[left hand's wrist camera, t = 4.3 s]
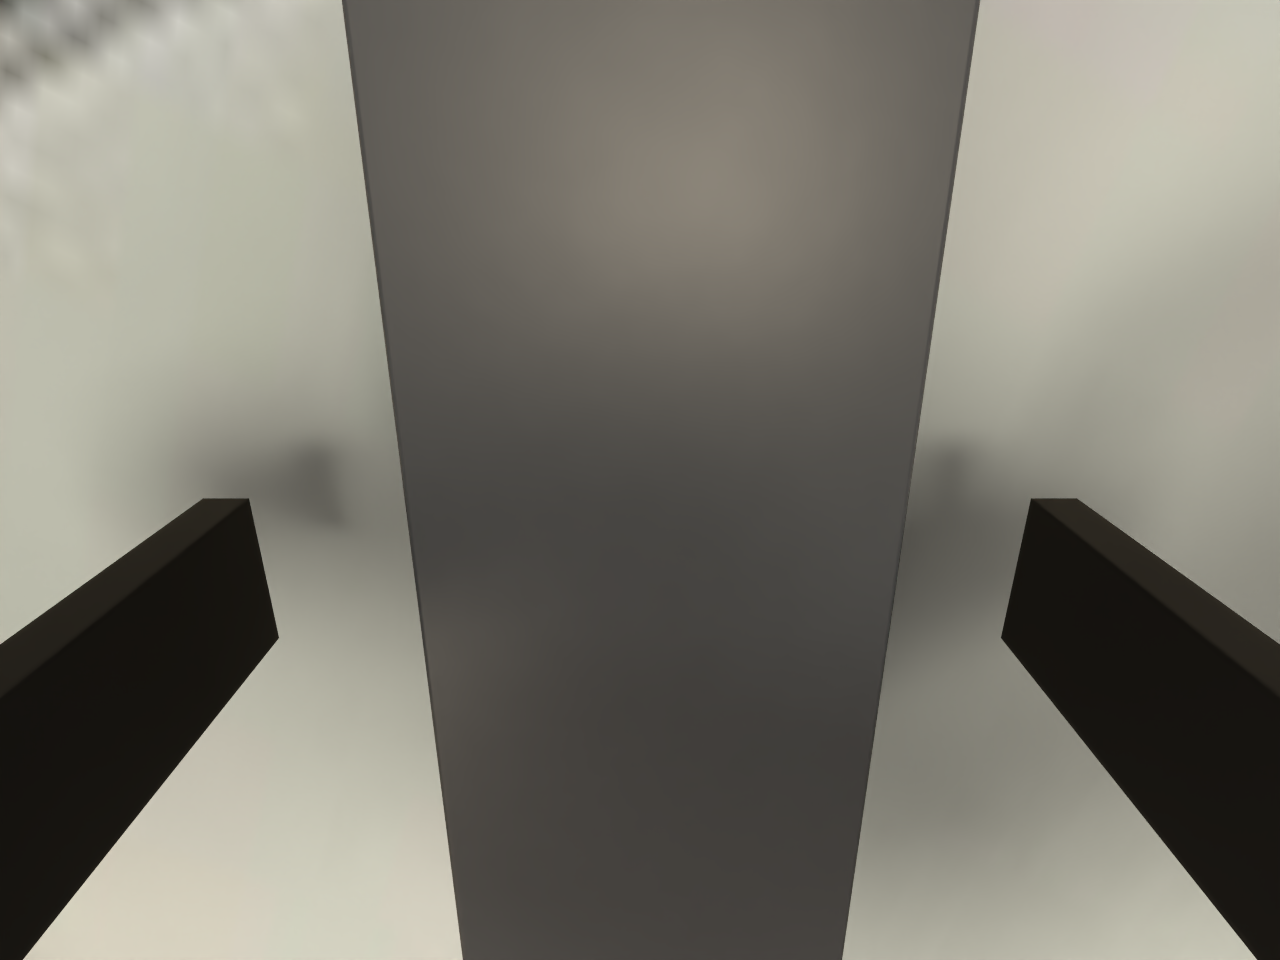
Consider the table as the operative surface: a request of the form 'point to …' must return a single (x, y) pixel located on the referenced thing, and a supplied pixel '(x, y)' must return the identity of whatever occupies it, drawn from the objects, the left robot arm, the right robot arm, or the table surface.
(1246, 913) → the left robot arm
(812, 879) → the post
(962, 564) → the table surface
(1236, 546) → the table surface
